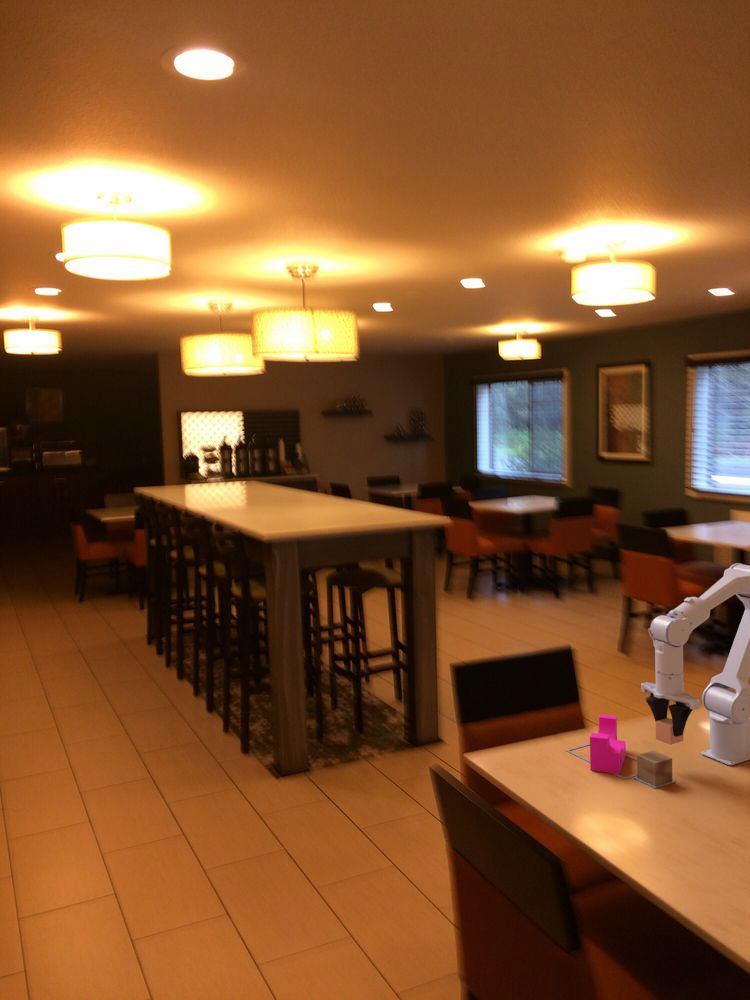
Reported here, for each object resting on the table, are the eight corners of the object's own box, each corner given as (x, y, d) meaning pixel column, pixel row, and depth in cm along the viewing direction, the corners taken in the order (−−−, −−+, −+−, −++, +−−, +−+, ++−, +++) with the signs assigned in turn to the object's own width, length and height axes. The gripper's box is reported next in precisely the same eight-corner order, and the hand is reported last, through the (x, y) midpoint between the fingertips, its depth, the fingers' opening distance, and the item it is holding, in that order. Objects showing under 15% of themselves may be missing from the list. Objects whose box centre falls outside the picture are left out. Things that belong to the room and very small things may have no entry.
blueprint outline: (597, 741, 190) (597, 741, 190) (682, 779, 168) (682, 778, 168) (565, 750, 185) (565, 749, 185) (648, 790, 163) (648, 790, 163)
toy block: (619, 773, 171) (619, 740, 171) (590, 769, 174) (589, 736, 173) (628, 748, 185) (627, 717, 184) (600, 745, 188) (600, 714, 187)
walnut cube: (654, 772, 171) (653, 750, 171) (672, 781, 167) (672, 758, 166) (637, 777, 169) (636, 755, 169) (655, 786, 164) (654, 763, 164)
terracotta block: (668, 735, 175) (668, 717, 175) (683, 740, 172) (683, 723, 171) (655, 738, 173) (655, 721, 173) (670, 744, 170) (670, 726, 169)
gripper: (630, 666, 176) (631, 725, 177) (683, 683, 163) (684, 746, 164) (653, 661, 179) (654, 719, 180) (706, 677, 166) (707, 739, 167)
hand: (670, 732), depth 172 cm, fingers closed on terracotta block, 4 cm apart
